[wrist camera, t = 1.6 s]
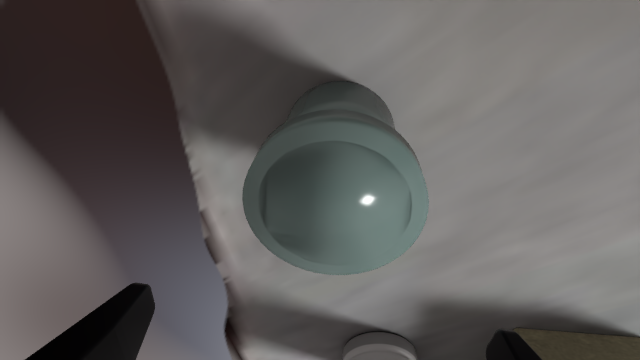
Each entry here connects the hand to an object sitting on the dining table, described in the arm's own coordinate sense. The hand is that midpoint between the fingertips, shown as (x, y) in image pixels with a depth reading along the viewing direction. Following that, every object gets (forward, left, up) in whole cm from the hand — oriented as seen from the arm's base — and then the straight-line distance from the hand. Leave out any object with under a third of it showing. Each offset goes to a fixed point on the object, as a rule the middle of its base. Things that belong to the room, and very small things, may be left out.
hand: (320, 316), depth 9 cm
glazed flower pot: (0, 0, -12) cm, 12 cm away
